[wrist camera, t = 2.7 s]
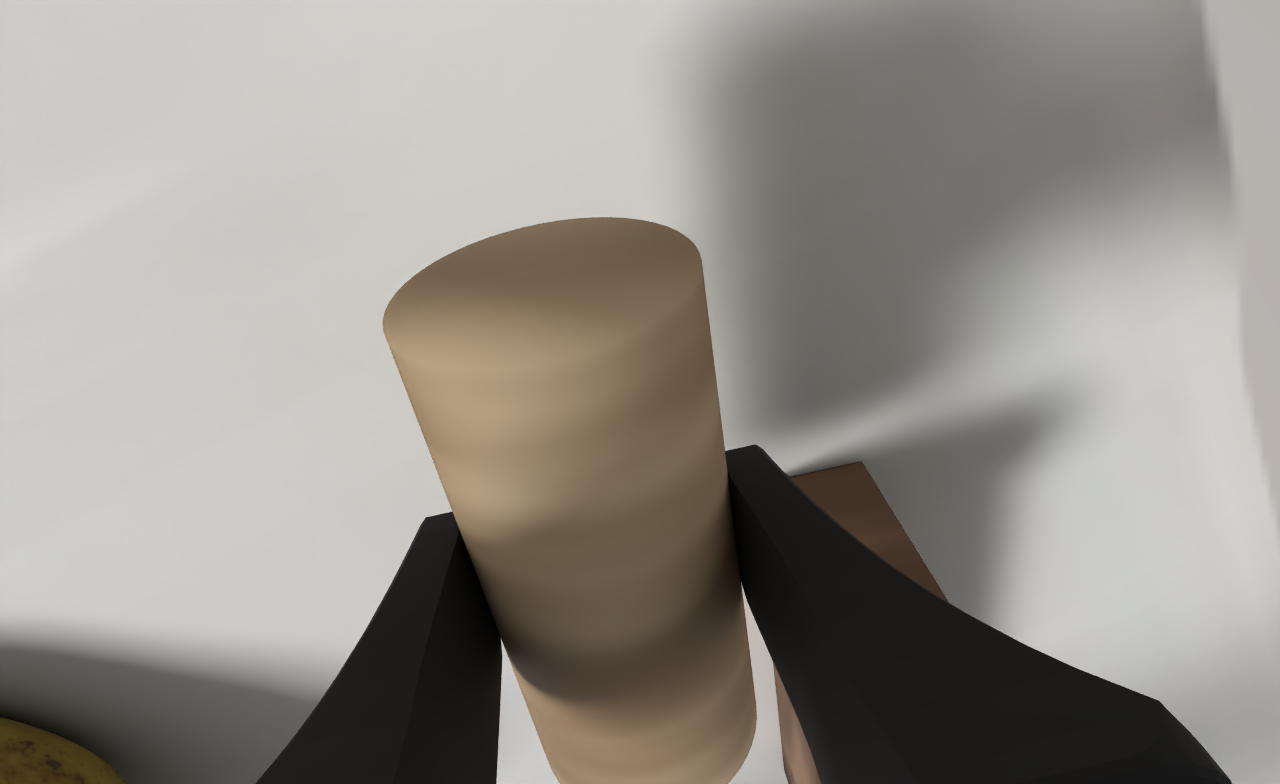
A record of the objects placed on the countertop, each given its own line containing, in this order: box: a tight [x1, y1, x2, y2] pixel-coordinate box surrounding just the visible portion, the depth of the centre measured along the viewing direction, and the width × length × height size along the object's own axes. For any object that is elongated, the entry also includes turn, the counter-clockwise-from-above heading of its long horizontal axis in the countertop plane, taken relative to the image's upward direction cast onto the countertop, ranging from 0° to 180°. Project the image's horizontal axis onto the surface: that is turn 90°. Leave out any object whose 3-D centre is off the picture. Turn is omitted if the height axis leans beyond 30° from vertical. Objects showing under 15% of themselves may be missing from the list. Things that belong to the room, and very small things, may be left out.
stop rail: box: [773, 462, 949, 784], centre depth 22 cm, size 13×3×5 cm, turn 9°
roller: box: [383, 217, 757, 784], centre depth 13 cm, size 9×4×4 cm, turn 9°
